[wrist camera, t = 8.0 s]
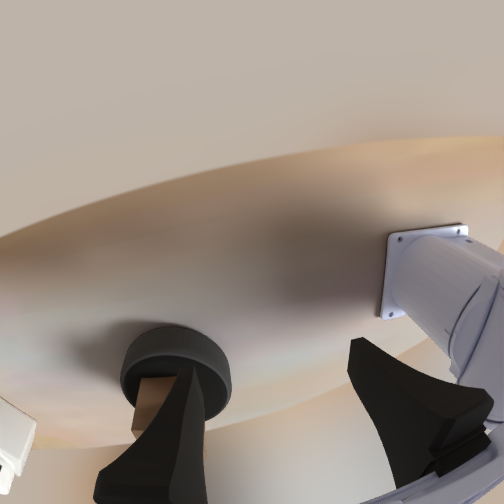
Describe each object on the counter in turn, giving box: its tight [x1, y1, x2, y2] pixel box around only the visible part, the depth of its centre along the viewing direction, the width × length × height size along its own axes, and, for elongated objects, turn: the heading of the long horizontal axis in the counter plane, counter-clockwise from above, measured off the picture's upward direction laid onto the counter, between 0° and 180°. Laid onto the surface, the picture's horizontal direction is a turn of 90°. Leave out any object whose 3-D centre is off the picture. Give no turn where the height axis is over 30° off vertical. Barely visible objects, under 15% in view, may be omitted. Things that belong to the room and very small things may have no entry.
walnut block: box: [131, 376, 206, 460], centre depth 18 cm, size 4×4×5 cm
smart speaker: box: [120, 327, 232, 421], centre depth 22 cm, size 9×9×4 cm
